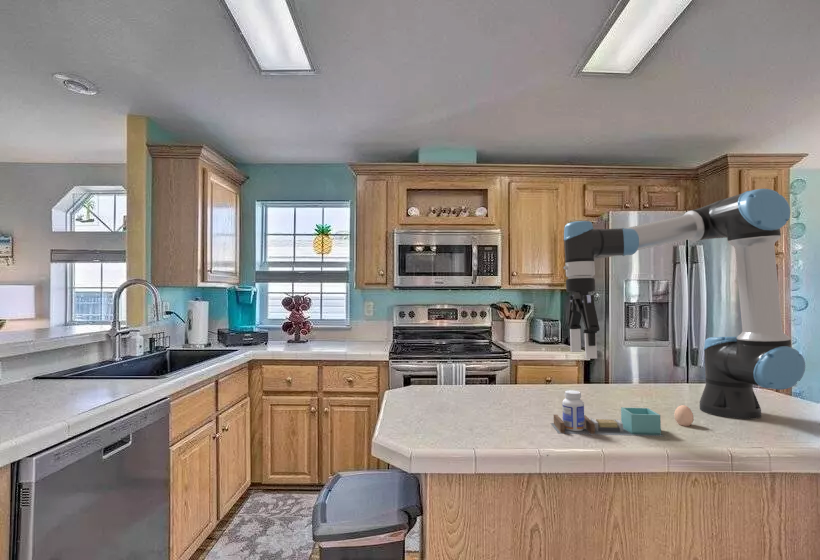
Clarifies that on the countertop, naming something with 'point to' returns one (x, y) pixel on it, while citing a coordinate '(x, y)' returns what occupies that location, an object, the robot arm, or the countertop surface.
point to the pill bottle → (573, 411)
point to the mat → (601, 432)
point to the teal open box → (641, 421)
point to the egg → (683, 415)
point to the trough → (561, 426)
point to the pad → (606, 423)
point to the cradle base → (609, 429)
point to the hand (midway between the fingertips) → (583, 354)
